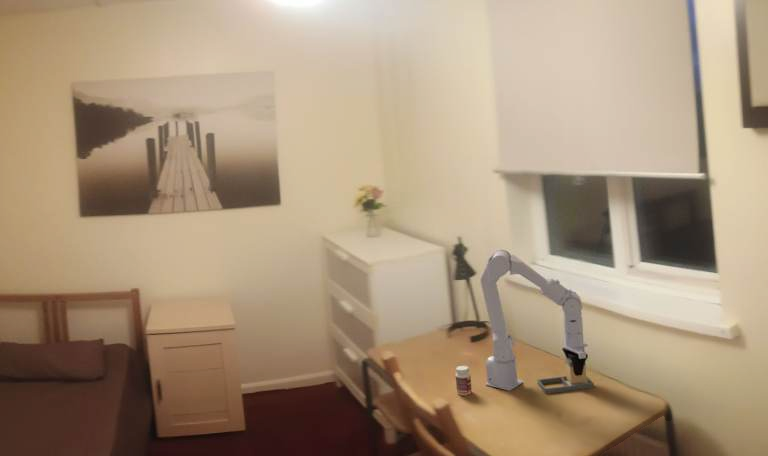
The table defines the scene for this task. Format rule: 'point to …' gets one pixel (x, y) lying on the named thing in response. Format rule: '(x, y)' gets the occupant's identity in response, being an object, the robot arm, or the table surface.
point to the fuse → (571, 375)
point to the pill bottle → (463, 380)
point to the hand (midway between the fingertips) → (576, 372)
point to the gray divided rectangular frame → (565, 382)
